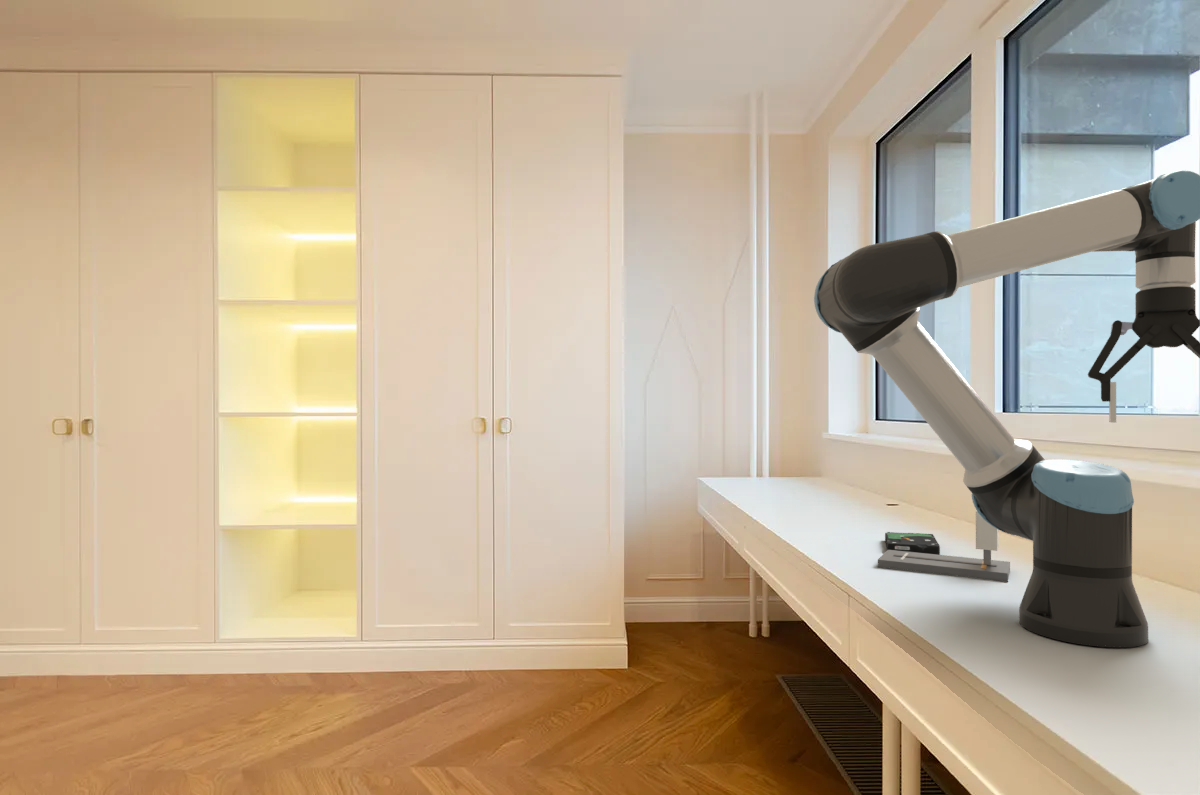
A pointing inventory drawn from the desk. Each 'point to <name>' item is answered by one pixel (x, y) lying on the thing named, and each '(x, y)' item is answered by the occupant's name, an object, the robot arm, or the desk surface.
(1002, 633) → the desk surface
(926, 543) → the disk drive
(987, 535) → the fader
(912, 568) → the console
